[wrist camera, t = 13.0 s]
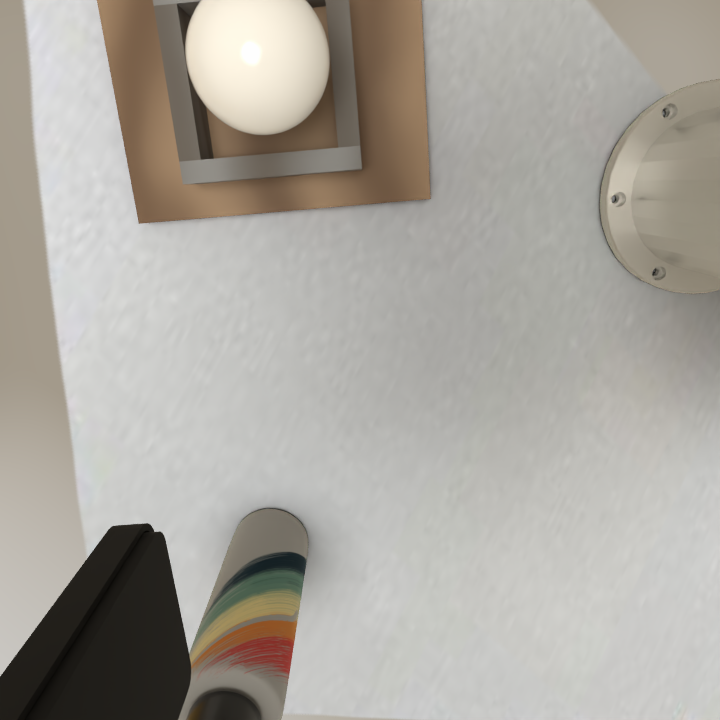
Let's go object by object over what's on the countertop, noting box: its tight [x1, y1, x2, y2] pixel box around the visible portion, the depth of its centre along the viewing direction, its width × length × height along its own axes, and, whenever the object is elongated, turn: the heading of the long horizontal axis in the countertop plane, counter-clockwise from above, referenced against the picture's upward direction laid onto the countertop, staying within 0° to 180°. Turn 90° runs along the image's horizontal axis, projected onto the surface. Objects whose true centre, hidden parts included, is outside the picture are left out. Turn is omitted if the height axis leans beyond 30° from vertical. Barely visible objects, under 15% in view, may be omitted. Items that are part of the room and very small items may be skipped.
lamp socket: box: [97, 0, 430, 223], centre depth 33 cm, size 18×14×4 cm
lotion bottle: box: [178, 509, 308, 720], centre depth 35 cm, size 6×6×20 cm
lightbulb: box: [185, 0, 330, 135], centre depth 28 cm, size 6×6×11 cm
